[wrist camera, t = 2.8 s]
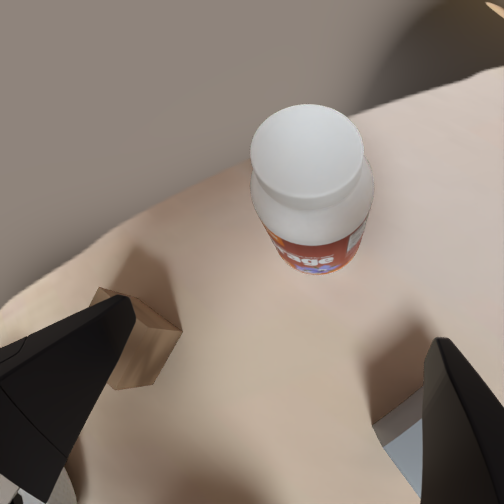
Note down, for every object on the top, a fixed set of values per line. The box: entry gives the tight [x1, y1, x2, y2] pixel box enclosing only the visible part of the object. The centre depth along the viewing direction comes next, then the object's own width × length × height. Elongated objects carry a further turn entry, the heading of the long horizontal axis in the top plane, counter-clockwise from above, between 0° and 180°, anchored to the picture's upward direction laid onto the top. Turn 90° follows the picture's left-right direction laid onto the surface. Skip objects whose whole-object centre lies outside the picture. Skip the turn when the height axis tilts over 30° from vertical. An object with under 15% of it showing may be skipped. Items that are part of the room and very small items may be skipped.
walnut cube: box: [89, 287, 183, 390], centre depth 21 cm, size 5×5×5 cm
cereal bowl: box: [18, 467, 77, 504], centre depth 18 cm, size 17×17×7 cm
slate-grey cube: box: [372, 386, 423, 499], centre depth 14 cm, size 5×5×5 cm
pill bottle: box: [250, 104, 374, 275], centre depth 17 cm, size 6×6×11 cm
